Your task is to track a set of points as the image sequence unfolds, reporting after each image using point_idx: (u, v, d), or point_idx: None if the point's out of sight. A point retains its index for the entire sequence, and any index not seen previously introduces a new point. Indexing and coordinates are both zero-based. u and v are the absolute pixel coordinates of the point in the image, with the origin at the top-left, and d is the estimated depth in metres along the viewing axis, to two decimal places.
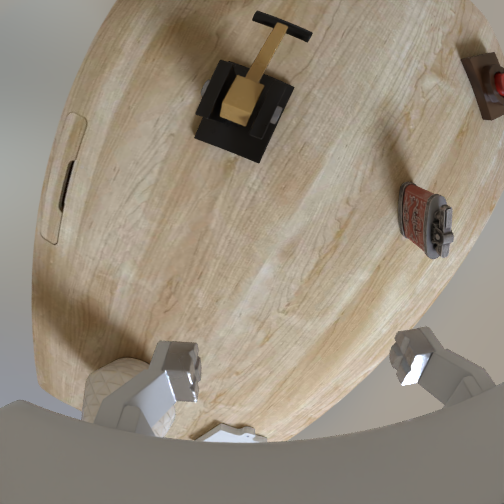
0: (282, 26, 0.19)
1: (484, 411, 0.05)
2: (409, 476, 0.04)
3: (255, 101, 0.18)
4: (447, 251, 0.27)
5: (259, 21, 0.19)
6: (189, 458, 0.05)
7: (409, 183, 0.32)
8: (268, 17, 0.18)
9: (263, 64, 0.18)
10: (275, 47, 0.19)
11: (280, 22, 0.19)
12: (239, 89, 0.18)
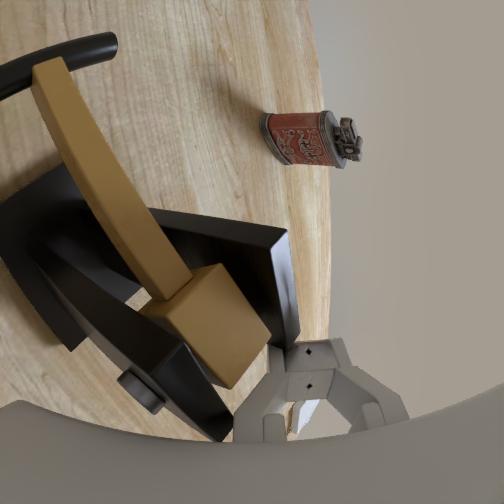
0: (51, 67, 0.05)
1: (484, 411, 0.05)
2: (409, 477, 0.04)
3: (252, 311, 0.08)
4: (361, 152, 0.28)
5: None
6: (189, 458, 0.05)
7: (267, 118, 0.28)
8: (4, 74, 0.04)
9: (137, 208, 0.07)
10: (98, 133, 0.06)
11: (38, 61, 0.05)
12: (213, 333, 0.07)
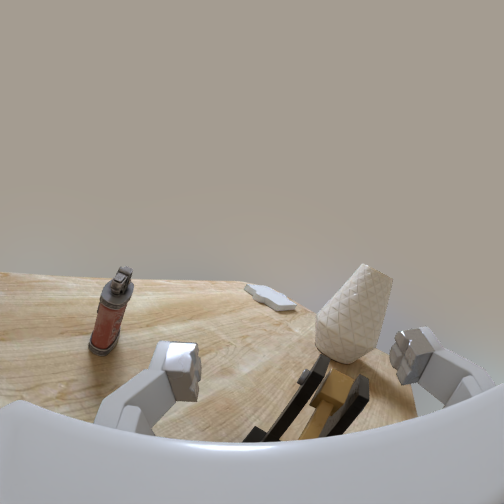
0: None
1: (484, 411, 0.05)
2: (409, 477, 0.04)
3: (329, 377, 0.20)
4: (125, 267, 0.33)
5: None
6: (189, 458, 0.05)
7: (97, 349, 0.28)
8: None
9: (314, 423, 0.17)
10: None
11: None
12: (341, 388, 0.19)
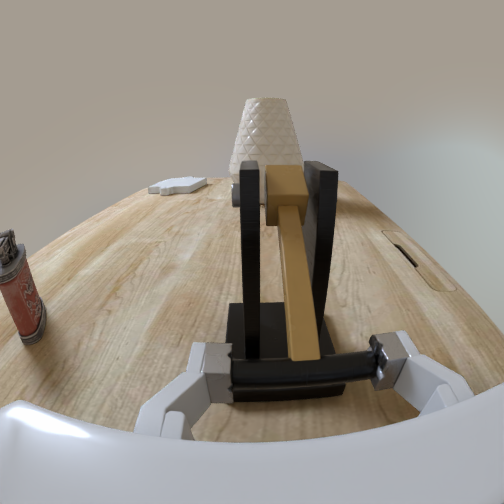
0: (304, 351, 0.10)
1: (484, 411, 0.05)
2: (409, 477, 0.04)
3: (267, 175, 0.15)
4: None
5: None
6: (189, 458, 0.05)
7: (29, 337, 0.19)
8: (345, 358, 0.10)
9: (287, 238, 0.13)
10: (288, 283, 0.12)
11: (314, 361, 0.10)
12: (293, 180, 0.15)
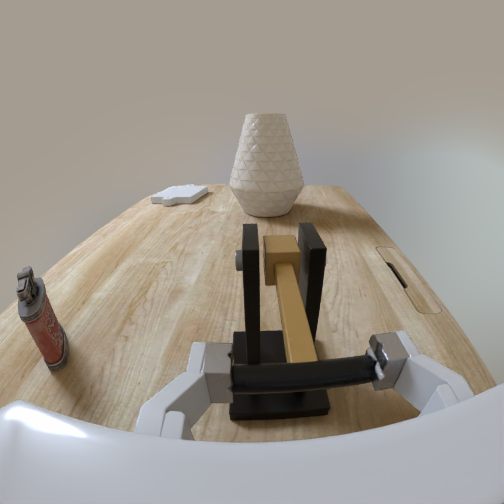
0: (302, 355, 0.10)
1: (484, 411, 0.05)
2: (409, 477, 0.04)
3: (265, 241, 0.19)
4: (23, 270, 0.23)
5: None
6: (189, 458, 0.05)
7: (56, 364, 0.23)
8: (342, 359, 0.10)
9: (283, 282, 0.15)
10: (284, 310, 0.13)
11: (312, 362, 0.10)
12: (287, 243, 0.18)
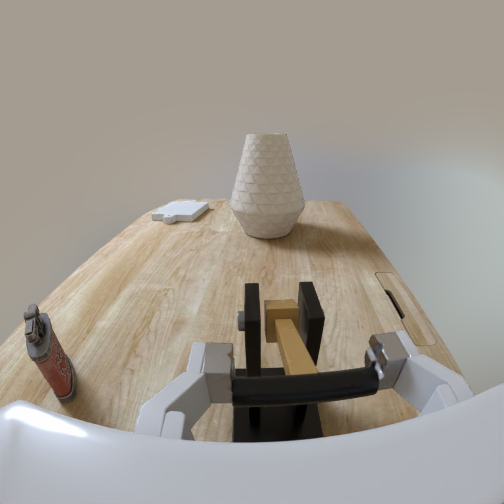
0: (302, 369, 0.10)
1: (484, 411, 0.05)
2: (409, 477, 0.04)
3: (266, 303, 0.20)
4: (29, 307, 0.23)
5: None
6: (189, 458, 0.05)
7: (65, 397, 0.23)
8: (343, 370, 0.10)
9: (283, 329, 0.16)
10: (284, 345, 0.13)
11: (313, 373, 0.10)
12: (286, 303, 0.19)
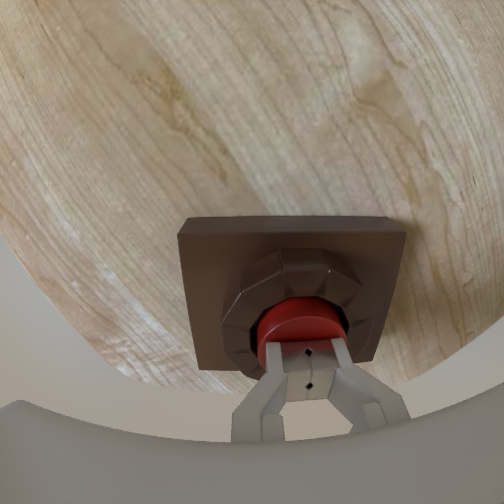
0: None
1: (484, 411, 0.05)
2: (409, 477, 0.04)
3: None
4: None
5: None
6: (189, 458, 0.05)
7: None
8: None
9: None
10: None
11: None
12: None
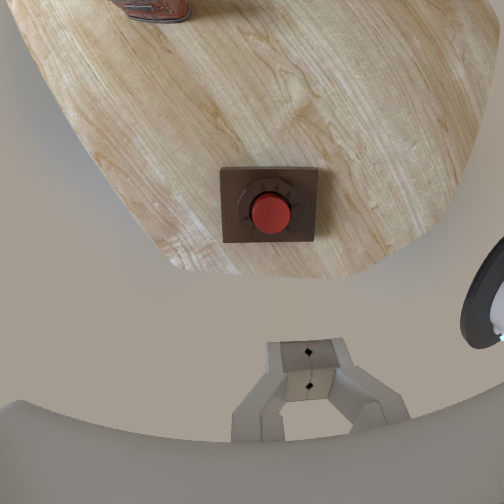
0: None
1: (484, 411, 0.05)
2: (409, 477, 0.04)
3: None
4: None
5: None
6: (189, 458, 0.05)
7: (189, 11, 0.21)
8: None
9: None
10: None
11: None
12: None
